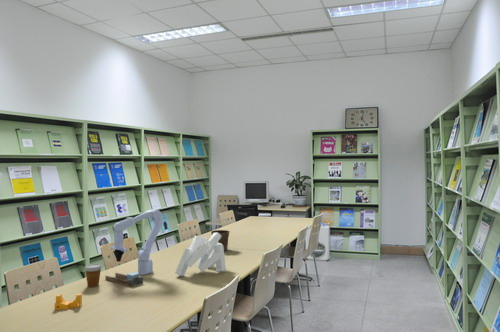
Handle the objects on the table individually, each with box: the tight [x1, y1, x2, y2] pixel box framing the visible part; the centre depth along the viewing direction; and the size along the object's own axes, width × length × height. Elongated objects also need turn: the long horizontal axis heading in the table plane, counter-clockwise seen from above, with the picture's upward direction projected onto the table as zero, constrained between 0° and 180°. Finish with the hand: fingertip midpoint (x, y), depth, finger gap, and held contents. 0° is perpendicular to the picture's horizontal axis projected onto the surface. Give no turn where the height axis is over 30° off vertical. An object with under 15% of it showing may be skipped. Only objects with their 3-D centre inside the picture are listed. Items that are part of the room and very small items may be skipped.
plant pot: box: [210, 229, 231, 252], centre depth 330 cm, size 16×16×16 cm
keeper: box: [126, 271, 140, 281], centre depth 238 cm, size 5×5×6 cm
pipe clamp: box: [54, 293, 83, 310], centre depth 198 cm, size 12×4×6 cm, turn 98°
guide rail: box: [104, 272, 144, 287], centre depth 242 cm, size 9×25×4 cm, turn 57°
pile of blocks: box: [174, 232, 227, 277], centre depth 263 cm, size 35×30×35 cm
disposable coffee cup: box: [84, 263, 102, 288], centre depth 234 cm, size 10×10×12 cm
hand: (118, 261), depth 253 cm, fingers closed
